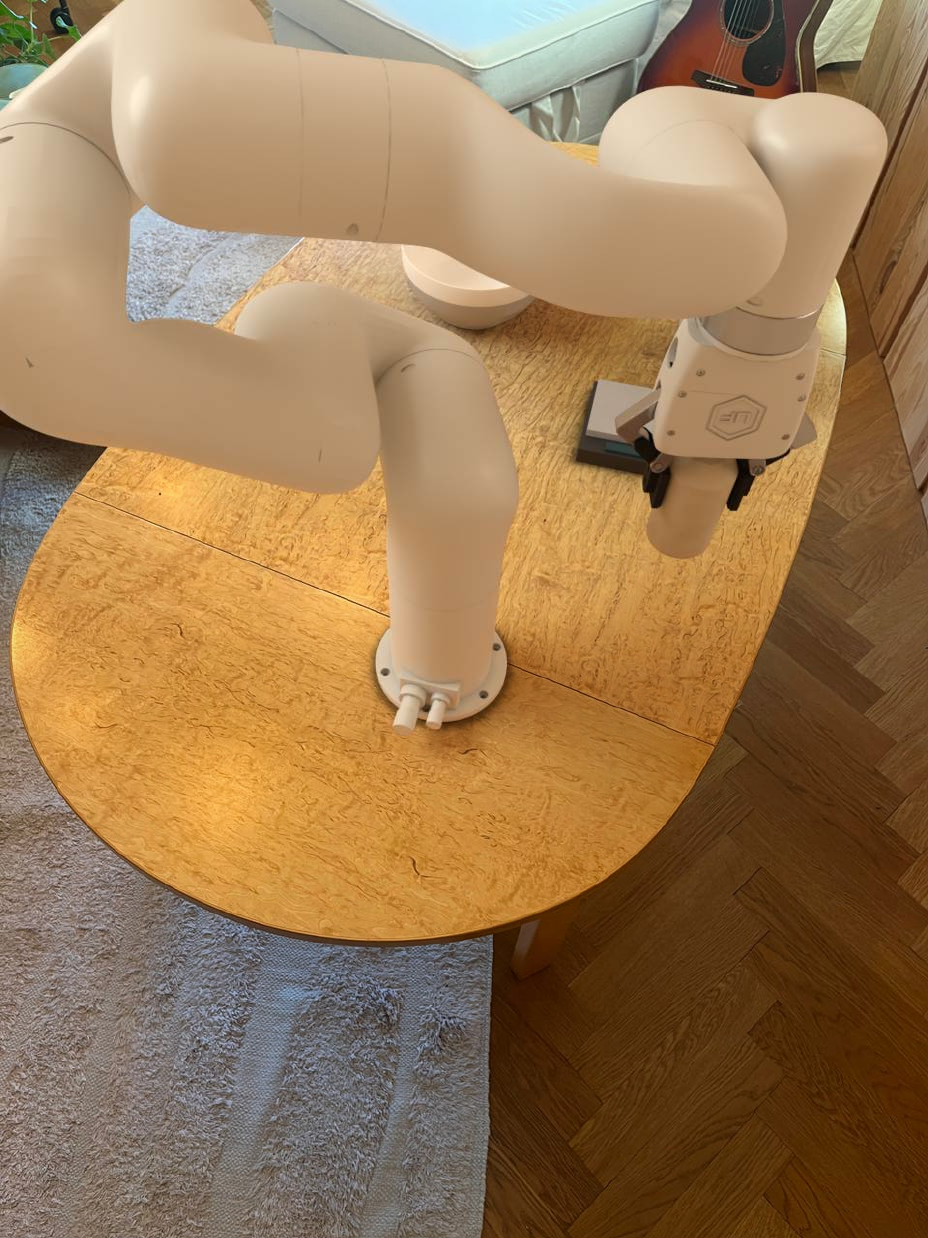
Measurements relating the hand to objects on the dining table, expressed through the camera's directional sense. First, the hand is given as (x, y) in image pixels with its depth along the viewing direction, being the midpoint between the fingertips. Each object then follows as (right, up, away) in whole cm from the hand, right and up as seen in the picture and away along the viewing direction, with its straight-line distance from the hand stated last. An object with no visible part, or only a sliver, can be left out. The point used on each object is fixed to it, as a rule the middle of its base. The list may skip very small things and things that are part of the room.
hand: (691, 495), depth 75 cm
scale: (+2, +12, +34) cm, 36 cm away
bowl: (-17, +32, +47) cm, 60 cm away
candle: (0, -3, +4) cm, 5 cm away
